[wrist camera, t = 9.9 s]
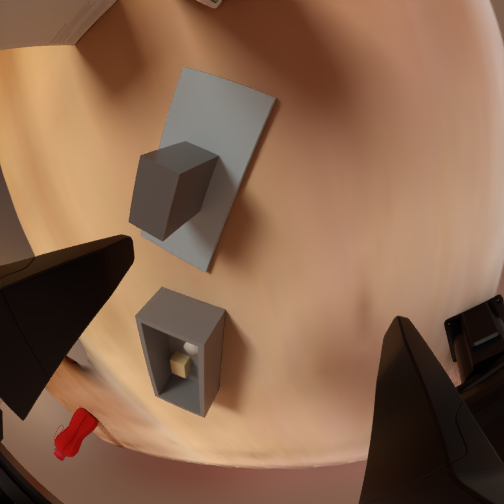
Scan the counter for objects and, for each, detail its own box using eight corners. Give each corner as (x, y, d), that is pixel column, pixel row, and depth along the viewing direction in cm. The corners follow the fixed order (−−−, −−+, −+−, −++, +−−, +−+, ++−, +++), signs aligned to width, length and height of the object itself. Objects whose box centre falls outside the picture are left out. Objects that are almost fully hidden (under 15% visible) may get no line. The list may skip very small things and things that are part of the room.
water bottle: (80, 403, 79) (45, 448, 58) (101, 422, 82) (69, 467, 61) (74, 403, 84) (42, 444, 63) (94, 421, 86) (64, 462, 66)
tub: (218, 389, 36) (204, 417, 32) (172, 370, 38) (155, 395, 34) (225, 309, 28) (204, 344, 24) (161, 286, 29) (135, 315, 25)
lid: (210, 266, 27) (175, 310, 21) (146, 231, 27) (103, 264, 22) (278, 98, 18) (248, 95, 12) (190, 67, 18) (135, 62, 13)
